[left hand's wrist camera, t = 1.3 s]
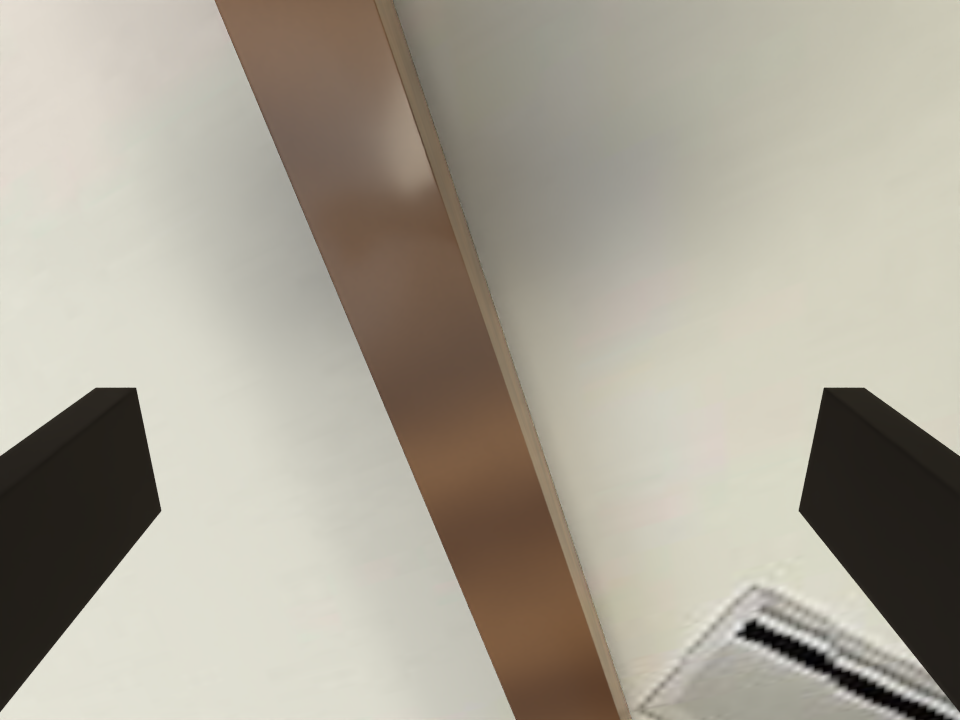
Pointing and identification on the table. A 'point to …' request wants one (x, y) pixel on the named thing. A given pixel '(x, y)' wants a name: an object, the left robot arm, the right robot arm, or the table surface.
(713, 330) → the table surface
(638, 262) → the table surface
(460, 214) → the bar
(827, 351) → the table surface
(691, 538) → the table surface
